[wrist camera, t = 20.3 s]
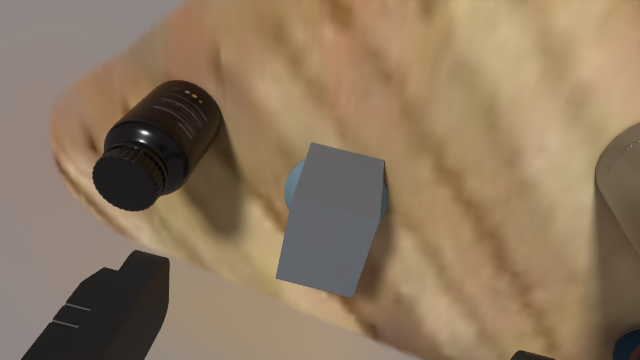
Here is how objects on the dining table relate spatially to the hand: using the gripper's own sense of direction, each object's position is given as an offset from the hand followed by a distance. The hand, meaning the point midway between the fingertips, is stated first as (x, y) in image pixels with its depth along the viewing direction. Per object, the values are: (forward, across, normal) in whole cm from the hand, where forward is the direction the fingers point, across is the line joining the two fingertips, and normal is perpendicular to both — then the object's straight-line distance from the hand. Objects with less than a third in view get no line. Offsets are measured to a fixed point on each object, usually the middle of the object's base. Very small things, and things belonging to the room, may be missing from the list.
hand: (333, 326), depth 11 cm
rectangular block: (+30, 0, +17) cm, 35 cm away
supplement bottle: (+30, +15, +13) cm, 36 cm away
